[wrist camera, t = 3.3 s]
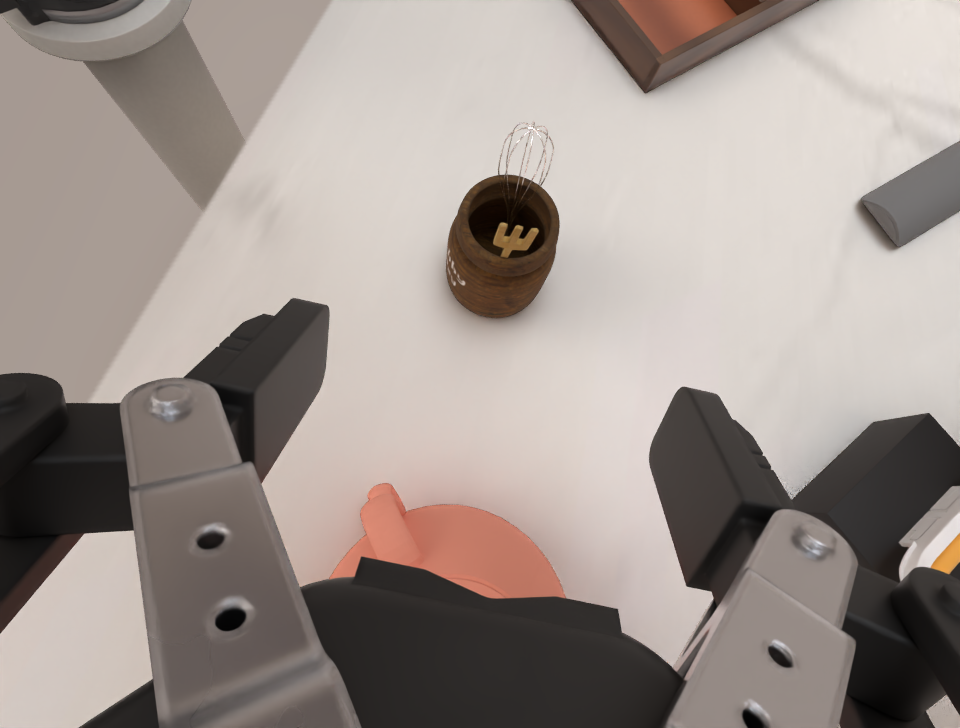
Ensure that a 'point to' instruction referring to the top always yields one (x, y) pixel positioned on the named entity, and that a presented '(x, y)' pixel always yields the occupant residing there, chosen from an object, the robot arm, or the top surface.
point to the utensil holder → (502, 242)
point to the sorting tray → (678, 31)
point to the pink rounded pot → (452, 547)
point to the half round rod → (918, 197)
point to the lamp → (894, 497)
